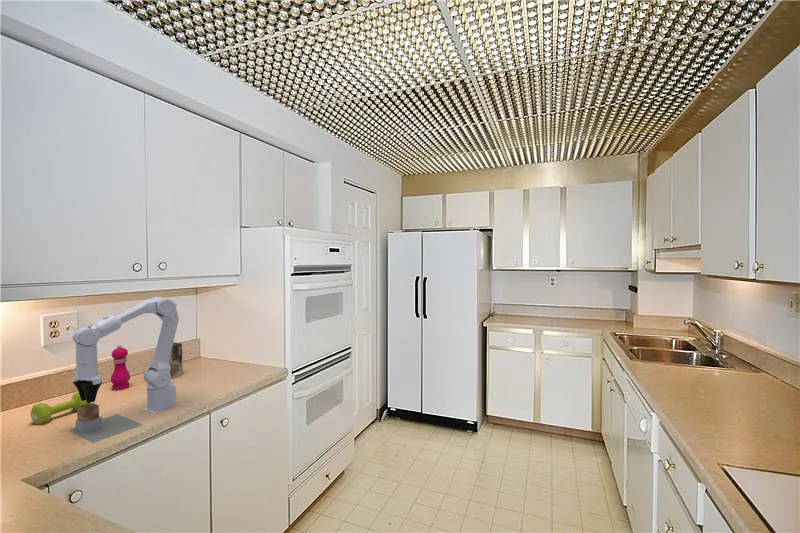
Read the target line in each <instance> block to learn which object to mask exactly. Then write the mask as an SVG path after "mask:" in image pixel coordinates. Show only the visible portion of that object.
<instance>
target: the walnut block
mask: <svg viewBox="0 0 800 533" xmlns="http://www.w3.org/2000/svg"><path fill="white" fill-rule="evenodd" d="M76 414H77V416H76V417H77V419H76V420H78V421H81V422H83V423H85V422H88V421H91V420H94V419H97V418H99V417H100V405H99V404H96V403H95V402H91V403H90V404H87V405H83V406H80V407H77V411H76Z"/></svg>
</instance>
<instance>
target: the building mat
mask: <svg viewBox="0 0 800 533" xmlns="http://www.w3.org/2000/svg"><path fill="white" fill-rule="evenodd" d="M141 426H144V424H142V423H140V422H137V421H136V420H133V419H131V418H129V417H126V416H124V415H122V414H118V413H116V414H114V415H110V416H107V417H105V418H102V428H99V429H96V430H93V431H90V432H87V433H84V434H82V433H80V432H79V431H77V430H76V427H74V428H71V429H68V431H69V432H71V433H73V434H74V435H77V436H79V437H81V438H82V439H85V441H88V442H89V443H92V444H95V443H98V442H102V441H103V440H105V439H109V438H112V437H113V436H114V437H115V436H116V435H117V436H118V435H119V434H122V433H125V432H127V431H130V430H133V429H135V428H138V427H141Z"/></svg>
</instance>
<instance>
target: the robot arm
mask: <svg viewBox="0 0 800 533" xmlns="http://www.w3.org/2000/svg"><path fill="white" fill-rule="evenodd" d="M144 314H155V316H157V317H159V319H160V320H161V321H162V322H161V328H160V332H159V335H158V339H157V343H156V348H155V352H154V355H153V359H152V361H151V362H150V363H149V364H148V368H147V370H146V371H145V372H144V374H143V380H144V381H145V383H146V384H147V385H146V407H142V410H144V411H146V412H148V413H151V414H155V413H158V412H162V411H164V410H166V409H170V408H172V407H175V406H178V403H177V388H176V385H175V384H174V383H173V382H171V380H172V379H171V374H170V370H171V367H170V365H169V358H170V354H171V350H172V346H173V343H175V342H174V340H175V337H176V332H177V329H178V324H179V321H180V316H179V314H178V311H177V304H176V302H175V301H173V300H172V299H171V298H168V297H160V296H153V297H150V298H149V299H145V300H144V301H141V302H140V303H138V304H137V305H134V306H132V307H131V308H129V309H127V310H125V311H123V312H121V313H120V314H118V315H113V314H112V315H111V314H110V315H104V316H102V319H100V320H98V321H96V322H93V323H89V324H87V327H86V326H85V327H81V328H78V329H77V330H75V332H74V334H73V335H72V337H71V338H72V341H73V342H74V343H75V366H76V367H75V369H76V372H74V377H72V384H73V385H74V386H75V388H76V389H77V392H79V395H80V398H81V400H82V401H85V400H86V402H87V403H95V402H96V399H97V394H98V392H99V389H100V387H101V385H102V384H103V380H102V377H100V373H99V369H98V368H99V365H98V361H99V360H98V344H97V343H98V342H99V341H100V339H102V338H104V337H106V336H108V335H110V334H112V333H114V332H116V331H118V330H120V329H121V327H122V324H123V323H126V322H129V321H130V320H133V319H135V318H137V317H140V316H141V315H144Z"/></svg>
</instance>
